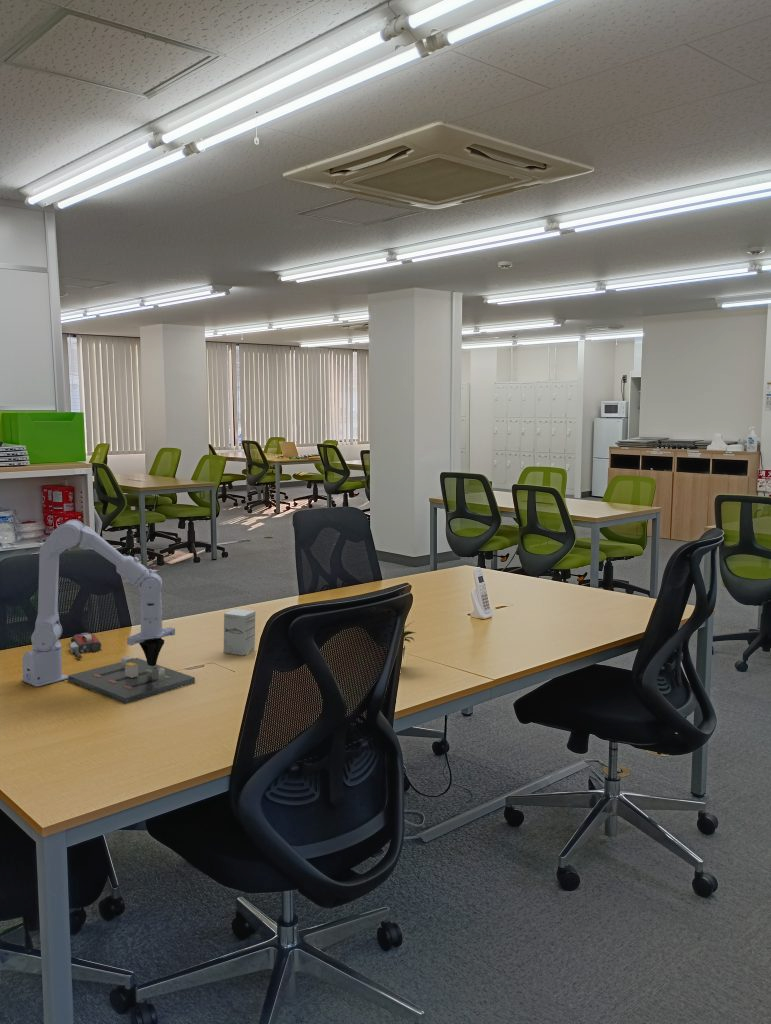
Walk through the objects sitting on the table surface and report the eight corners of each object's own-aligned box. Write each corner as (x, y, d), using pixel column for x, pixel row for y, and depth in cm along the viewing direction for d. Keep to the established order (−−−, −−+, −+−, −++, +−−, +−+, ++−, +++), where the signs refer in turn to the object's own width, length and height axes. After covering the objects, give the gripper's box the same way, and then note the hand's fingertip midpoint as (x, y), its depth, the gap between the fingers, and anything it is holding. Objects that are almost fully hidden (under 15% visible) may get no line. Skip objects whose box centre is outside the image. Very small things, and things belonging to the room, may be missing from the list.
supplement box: (222, 653, 254) (223, 613, 252) (234, 647, 261) (234, 607, 259) (244, 656, 252) (244, 615, 250) (255, 649, 259) (256, 610, 257)
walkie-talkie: (64, 644, 259) (76, 662, 242) (63, 630, 259) (76, 647, 242) (93, 641, 264) (107, 658, 247) (93, 627, 263) (107, 643, 246)
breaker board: (125, 703, 209) (125, 686, 209) (68, 680, 225) (67, 664, 224) (194, 682, 226) (194, 666, 226) (137, 662, 242) (136, 647, 242)
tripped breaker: (131, 677, 224) (131, 666, 223) (125, 675, 226) (125, 663, 225) (138, 676, 225) (138, 664, 225) (131, 673, 227) (131, 662, 227)
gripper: (137, 624, 221) (138, 674, 222) (181, 615, 232) (182, 662, 234) (122, 620, 225) (122, 668, 227) (166, 610, 236) (166, 657, 238)
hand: (151, 665), depth 230 cm, fingers closed
